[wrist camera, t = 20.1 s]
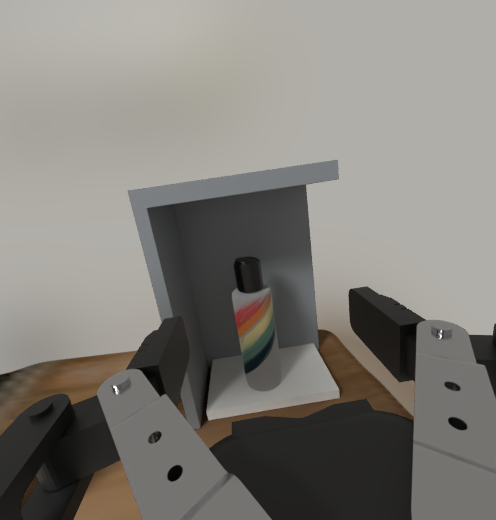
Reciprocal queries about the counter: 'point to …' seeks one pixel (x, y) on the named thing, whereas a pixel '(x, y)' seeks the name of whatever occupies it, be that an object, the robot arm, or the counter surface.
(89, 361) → the counter surface
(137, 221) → the open shelf
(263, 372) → the lotion bottle
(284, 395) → the shelf mat
